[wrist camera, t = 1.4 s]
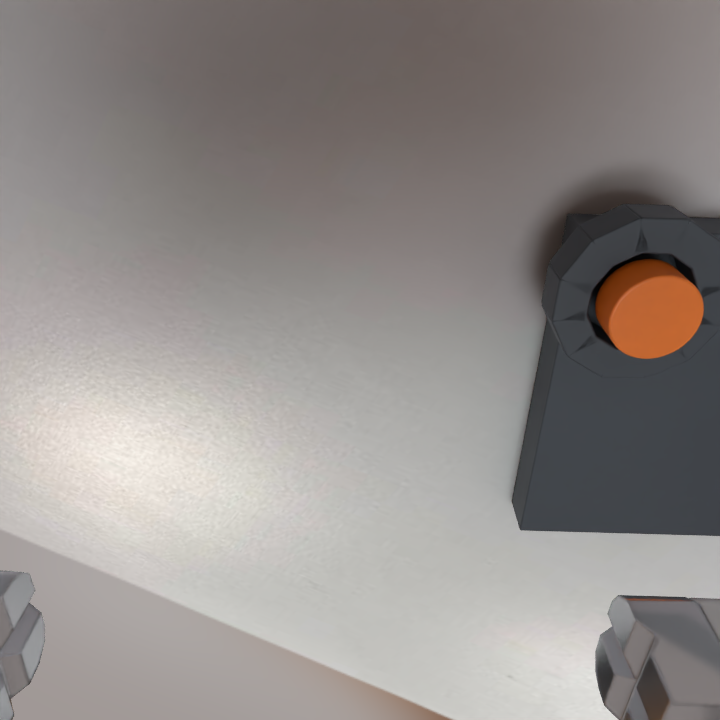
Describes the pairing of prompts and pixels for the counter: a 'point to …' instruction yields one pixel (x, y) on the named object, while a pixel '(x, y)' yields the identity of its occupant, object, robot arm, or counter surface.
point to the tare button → (649, 308)
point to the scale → (624, 391)
